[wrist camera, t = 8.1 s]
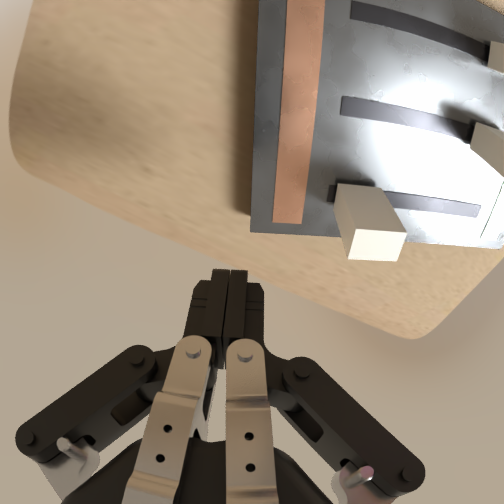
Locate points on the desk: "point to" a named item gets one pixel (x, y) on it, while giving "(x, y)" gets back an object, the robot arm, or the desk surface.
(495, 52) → the switch
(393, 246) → the switch
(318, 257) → the desk surface
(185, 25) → the desk surface
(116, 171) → the desk surface
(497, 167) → the switch middle
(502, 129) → the switch panel
